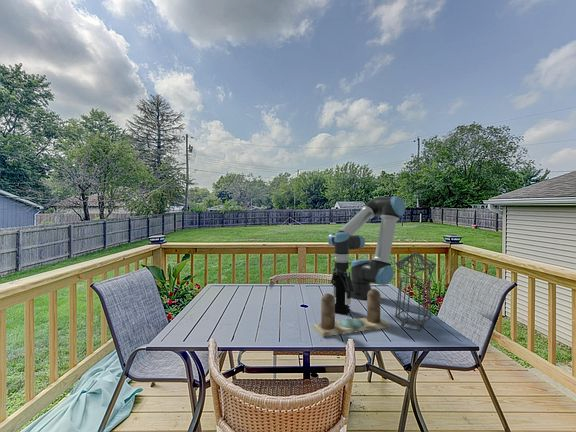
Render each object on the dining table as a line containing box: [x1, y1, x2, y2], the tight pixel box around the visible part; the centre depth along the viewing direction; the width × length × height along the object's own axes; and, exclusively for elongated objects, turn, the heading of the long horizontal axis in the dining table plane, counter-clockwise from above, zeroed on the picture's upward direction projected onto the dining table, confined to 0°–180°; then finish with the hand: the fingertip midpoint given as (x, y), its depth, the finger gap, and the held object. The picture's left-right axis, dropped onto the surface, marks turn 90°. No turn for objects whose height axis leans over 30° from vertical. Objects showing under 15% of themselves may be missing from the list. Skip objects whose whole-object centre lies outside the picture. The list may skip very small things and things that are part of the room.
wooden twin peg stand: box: [312, 288, 390, 338], centre depth 139 cm, size 34×11×17 cm, turn 109°
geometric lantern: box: [394, 251, 437, 332], centre depth 141 cm, size 16×16×35 cm
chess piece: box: [332, 274, 351, 316], centre depth 162 cm, size 8×8×20 cm
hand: (341, 300), depth 162 cm, fingers open, 13 cm apart
